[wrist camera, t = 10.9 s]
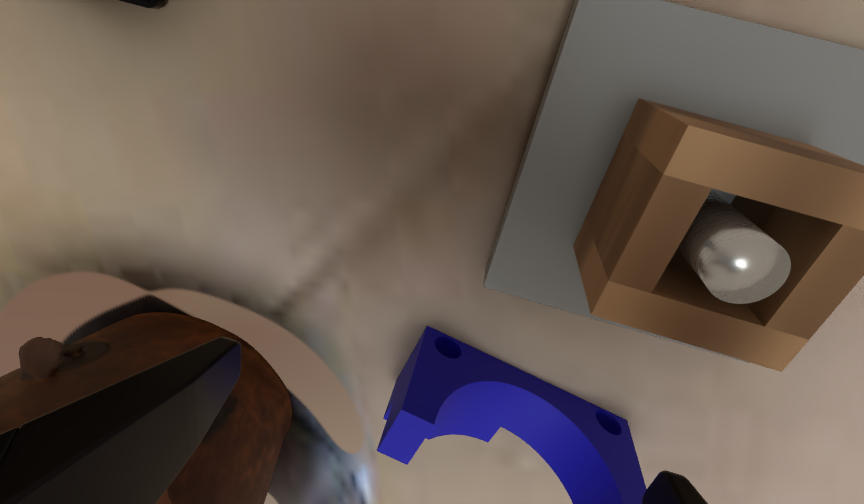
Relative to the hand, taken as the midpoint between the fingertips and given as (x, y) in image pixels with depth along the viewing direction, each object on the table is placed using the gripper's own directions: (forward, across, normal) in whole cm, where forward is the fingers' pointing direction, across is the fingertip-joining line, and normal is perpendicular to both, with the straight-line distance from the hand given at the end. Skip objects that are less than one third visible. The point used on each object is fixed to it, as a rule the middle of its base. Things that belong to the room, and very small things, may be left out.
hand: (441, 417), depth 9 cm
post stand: (+12, -7, -3) cm, 14 cm away
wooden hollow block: (+10, -7, -3) cm, 13 cm away
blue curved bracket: (+12, -4, +10) cm, 17 cm away
